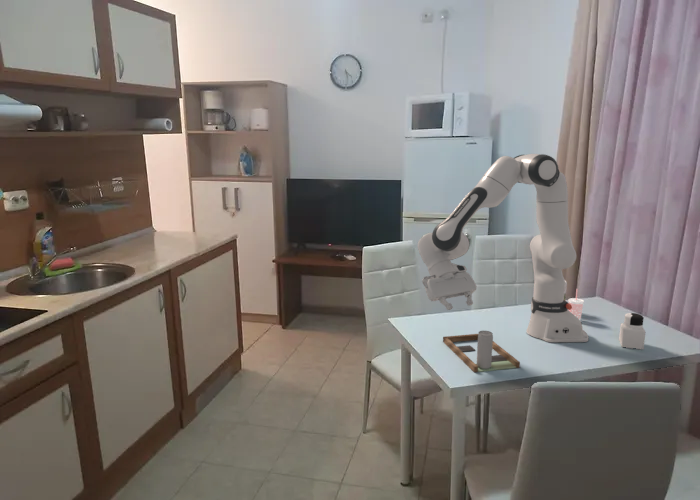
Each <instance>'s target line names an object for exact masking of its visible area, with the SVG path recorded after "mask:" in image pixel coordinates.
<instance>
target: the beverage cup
mask: <svg viewBox="0 0 700 500" xmlns="http://www.w3.org/2000/svg"><path fill="white" fill-rule="evenodd" d="M578 290H579V289H578V288H576V291H575V297H572V298H571V297H570V298H568V299H567V302H568V303H569V304H571V306H572V309H571V310H569V311H570V312H571V313H572V314H574V315H575V316H576V317H577V318H578V319H579V320H580V321H581V319H582V313H583V308H584V307H583V306H584V304H585V300H584V299H581V298H578Z"/></svg>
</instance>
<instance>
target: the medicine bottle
mask: <svg viewBox="0 0 700 500" xmlns="http://www.w3.org/2000/svg"><path fill="white" fill-rule="evenodd" d="M644 318H645V317H644V316H643V315H641V314H639V313H635V312H628V313H625V314H624V321H623V322H622V323H620V326H619V327H620V328H619V335H618V342H619V341H620V342H619V344H620V346H621V347H622V348H623V347H626V348H625V349H633V348H636V349H635V350H642V349H643V350H644V349H645V342H646V341H645V339H646V330H645V328H644Z"/></svg>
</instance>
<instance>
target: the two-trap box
mask: <svg viewBox="0 0 700 500" xmlns="http://www.w3.org/2000/svg"><path fill="white" fill-rule="evenodd" d="M478 334H479V333H471V334H461V335H448V336H447V335H446V336H443V337H442V343H444V344H445V345H446V346H447V347H448V348H449V349H450V351H452V352H453V353H454V354H455V355H456V356H457V357H458V358H459V359H460V360H461V362H463V363H464V364H465V365H466V366H467V367H468V368H469V369H470V371H472V372H473V373H483V372H492V371H501V370H509V369H511V370H512V369H520V368H521V367H520V366H521V362H520V361H519V360H518V359H517V358H516V357H514V356H513V355H512V354H510V352H508V351H506V350H505V349H504V348H503V347H501V346H500V345H499V344H497V343H496V342H495V341H494V340H493V344H492V350H493V351H495V352H496V353H497V354H496V355H492V362H491V367H490V368H489V369H481V368H479V367H478V366H477V363H475V362H474V361H473V360H472V359H471V358H470V357H469V356H468V355H466V354H465V352H466V353H467V352H475V351H476V349H475V348H474V347H473V346H472V345H459V346H457V345H456V344H454V343H457V342H459V343H460V342H469V341H478Z"/></svg>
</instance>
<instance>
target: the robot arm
mask: <svg viewBox="0 0 700 500" xmlns="http://www.w3.org/2000/svg"><path fill="white" fill-rule="evenodd" d="M517 183H520V184H525V185H529V186H531V185H534V187H535V190H536V204H535V208H536V223H537V227H538V230H539V234H537V235H535V236H534V237H532V239H531V240H530V244H529V249H530V253H531V257H532V267H533V269H532V270H533V278H534V279H533V282H534V283H533V296H532V298H531V302H530V303H531V304H530V311H531V314H530V320H529V323H528V326H527V328H526V333H527V334H528V335H529V336H531V337H533V338H536V339H540V340H543V341H545V342H547V343H584V342H585V343H586V342H588V341H589V335H588V333H587V332H586V331H585V330H584V329H583V324H582V321H581V320H579V319H578V318H577V317H576V316H575V315H574V314H572V313H571V312H570V311H569V310H571V309H572V306H571V304H569V302H568V300H567V301H566V299H565V300H564V288H565V281H566V279H565V277H564V274H563V270H566V269H569V268H571V267H572V266H573V265H574V264H575V262H576V260H577V251H576V249H575V247H574V244H573V240H572V235H571V230H570V223H569V191H568V183H567V178H566V175H565V174H564V173H563V172H561V171H560V170H559V165H558V162H557V160H556V159H555V158H554V157H552V156H551V155H548V154H544V153H541V154H540V153H529V154H519V155H516V156H514V157H511V156H508V155H504V156H503V155H502V156H500V157H499V158H497V159H496V161H494V162H493V163H492V165H491V166H490V167H488V169H487V170H486V172H484V174H483V176H482V177H481V178H480V179H479V181H478V182H477V183H476V185H475V186H474V187H473V188H472V189H471V190H470V191H469V192H467V194H466V195H465V196H464V198H463V199H462V200H461V201H460V202H459V204H458V205H456V207H455V208H454V210H453V211H452V212H451V213H450V214H449V216H448V217H446V218H445V219H444V220H442V221H440V222H439V223H438V224H436V226H435V227H434V229H433V231H432V232H428V233H425V234H424V235H422V236H421V237H420V238H419V240H418V242H417V251H418V252H419V255H420V258H421V260H422V261H423V264H424V265H425V266H426V267H427V271H428V274H429V275H427V276H423V278H422V280H421V282H422V284H423V287H424V289H425V293H426V296H427V298H428V300H429V301H431V302H436V301H437V302H438V301H439V303H440V304H441V305H443V306H444V307H445V309H446V310H447V311H450V310H452V309H454V307H453V305H452V303H451V302H448V301H447V299H452V298H457V297H462V296H464V297H465V298H466V301H465V304H467V306H468V307H469V306H472V305H473V304H474V300H472V297H473V296H472V294H474V292H476V290H477V284H476V282H475V280H474V278H473V277H472V275H471V274H470V273H469V272H467V271H468V269H467V267H466V266H465V265H463V264H461V265H460V264H456V263H452V262H451V261H453V260H455V259H456V260H457V259H458V258H460V257H463V256H465V255H466V254H467V253H468V250H469V249H470V241H469V238H468V237H467V235H466V234H465V233H464V232H463V229H464V227H465V226H466V225H467V224H468V222H469V221H470V220H471V219H472V218H473V216H474V215H475V213H477V212H478V211H479V210H480V209H485V208H488V209H489V208H491V209H492V208H496V207H498V206H499V205H500V204H501V203H502V202H503V201H504V200H505V199H506V198H507V197H508V195H509V193H510V192H511V191H512V189H513V187H514V186H515V185H516V184H517Z"/></svg>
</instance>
